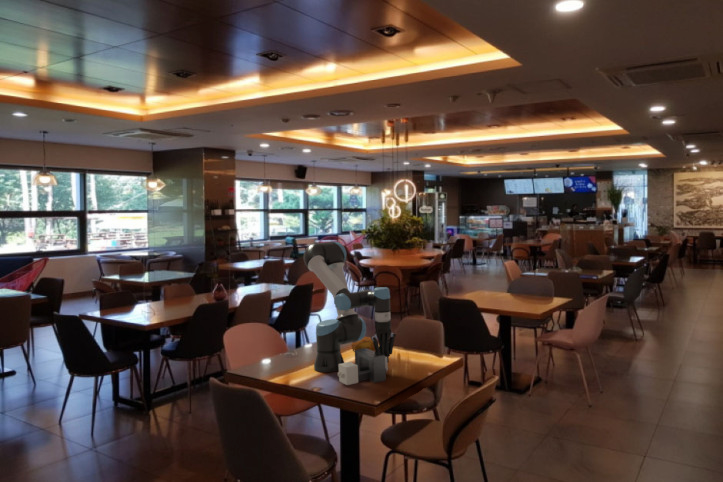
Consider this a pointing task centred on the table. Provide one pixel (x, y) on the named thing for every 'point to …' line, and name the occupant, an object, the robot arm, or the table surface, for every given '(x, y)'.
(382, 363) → the cable tunnel
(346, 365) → the plug
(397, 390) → the table surface
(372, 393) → the table surface
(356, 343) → the golden lumpy mound
